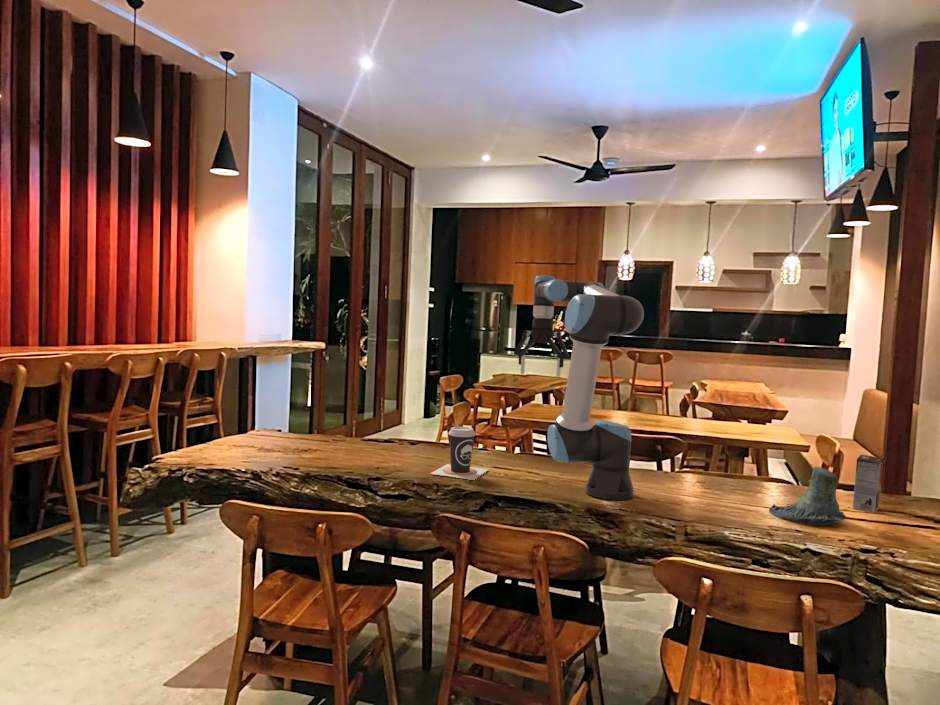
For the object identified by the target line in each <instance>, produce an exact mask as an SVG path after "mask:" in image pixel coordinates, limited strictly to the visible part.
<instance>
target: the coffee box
mask: <svg viewBox="0 0 940 705" xmlns="http://www.w3.org/2000/svg"><path fill="white" fill-rule="evenodd" d="M883 463H884V458H883V457H877V456H872V455H865V454H860V455H859V456H858V457H857V458H856V464H855V465H856V466H855V467H856V468H855V479H854V488H853V490H854V491H853V500H852V510H857V511H860V512H861V511H862V512H867V513H872V514H876V513H877V511H878V509H879V508H880V506H881V505H880V504H881V492H882V491H881V490H882V476H883V467H884V466H883Z"/></svg>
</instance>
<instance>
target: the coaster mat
mask: <svg viewBox="0 0 940 705" xmlns="http://www.w3.org/2000/svg"><path fill="white" fill-rule="evenodd" d="M487 471H488V472H490V469H488V468H480V467H474V466H473V467H472V466H470V471H469V472H468V473H455V472H452V471H451V463H450V464H449V463H447V464H445V465H443V466H441V467H439V468H437V469H435V470H434V471H432V472H430V473H429V475H430V474H433V475H440V476H449V477H456V478H463V479H468V480H467V481H469V480H473V481H472V482H475V481H476V480H478V479H479V478H480V476H481V475H482V476H484V475H485V474H487V473H488V472H487ZM486 472H487V473H486ZM484 473H485V474H484ZM483 474H484V475H483ZM433 475H432V476H433ZM440 476H439V477H440ZM482 476H481V477H482ZM478 477H479V478H478ZM477 478H478V479H477ZM475 479H476V480H475ZM474 480H475V481H474Z"/></svg>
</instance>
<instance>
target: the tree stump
mask: <svg viewBox="0 0 940 705" xmlns="http://www.w3.org/2000/svg"><path fill="white" fill-rule="evenodd" d="M837 479H838V478H837V476H836V474H835V473H834V472H832V471H830V470H828V469H825V468H823V467H821V466H820V467H819V466H814V467H813V469H812V474H811V476H810V478H809V480H807V484H808V488H807V489H806V490H807V491H806V493H805V494H803V495H802V496H801V497H800V498H799V500H798V501H796V502H795V503H793V504H789V505H788V504H787V505H786V506H779V505H778V506H777V505H776V504H774V503H773V504H772V505H771V507H769V509H768V512H769V513H770V515H772V516H774V517H776V518H778V519H780V520H784V521H787V522H792V523H796V524H797V523H798V524H804V525H811V526H812V525H813V526H821V527H825V526H828V525H831V524H833V523H837V522H840V521H844V520H846V518H847V516H846V515H845V514H844V512H843V511H840V504H839V503H838V500H837V489H838V485H837V483H838V480H837Z"/></svg>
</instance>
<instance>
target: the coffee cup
mask: <svg viewBox="0 0 940 705" xmlns="http://www.w3.org/2000/svg"><path fill="white" fill-rule="evenodd" d="M447 435H449V448H450V449H449V450H450V451H449V452H450V455H449V456H450V464H451V471H452V472H455V473H468V472H469V471H470V467H471V461H472V453H473V446H474V440H475V436H476V432H475V431H474V428H473V427H469V426H452V427H450V430H449V431H448V433H447Z"/></svg>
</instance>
